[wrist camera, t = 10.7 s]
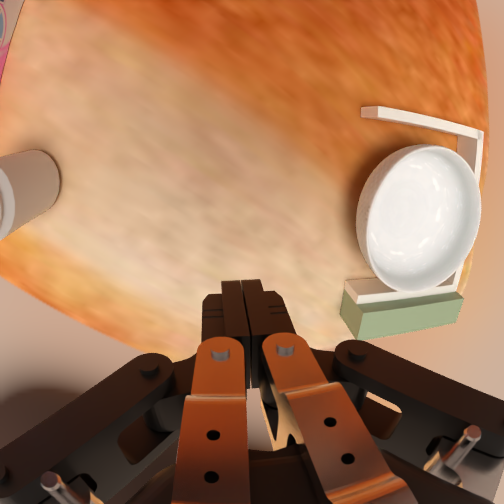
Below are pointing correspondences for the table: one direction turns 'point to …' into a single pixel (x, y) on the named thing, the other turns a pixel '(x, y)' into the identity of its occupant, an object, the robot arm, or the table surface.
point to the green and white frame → (392, 301)
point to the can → (26, 188)
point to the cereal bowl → (418, 217)
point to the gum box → (7, 26)
